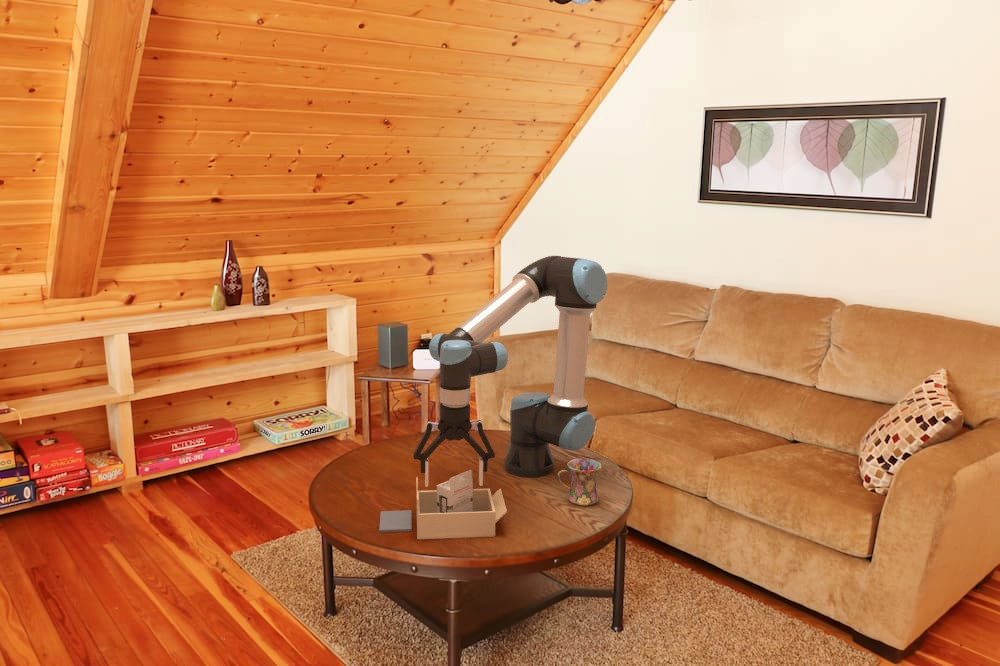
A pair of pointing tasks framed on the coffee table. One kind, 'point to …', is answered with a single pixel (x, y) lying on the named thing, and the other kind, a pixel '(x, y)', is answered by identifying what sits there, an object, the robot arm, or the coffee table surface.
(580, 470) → the mug
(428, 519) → the carton
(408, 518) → the felt pad
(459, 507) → the ink box
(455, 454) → the coffee table surface
